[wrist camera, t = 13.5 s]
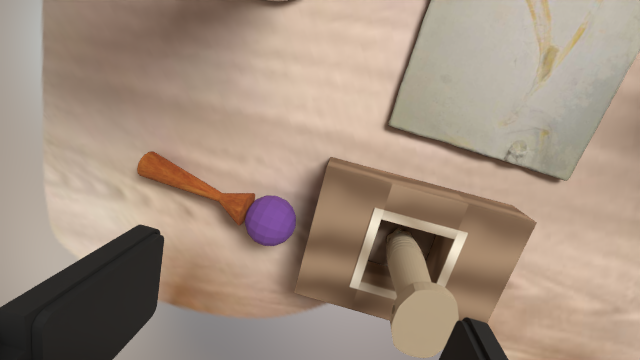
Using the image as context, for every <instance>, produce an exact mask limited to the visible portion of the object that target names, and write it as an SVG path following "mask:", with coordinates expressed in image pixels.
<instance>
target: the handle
mask: <svg viewBox="0 0 640 360" xmlns="http://www.w3.org/2000/svg"><path fill="white" fill-rule="evenodd" d="M387 262H388V268H389V271H390V275H391V278H392V281H393V284H394V288H395V291H396V295H397V298H396V299H395V301H394V303H393V305H392V309H391V314H390V323H391V332H392V337H393V343H394V346H395V347H396V348H397V349H398V350H399V351H401V352H403V353H405V354H407V355H410V356H414V357H419V358H428V357H433V356H434V355H436V354H437V353H438V352H440V351H441V350H442V349H444V347H445V345H446V343H447V341H448V339H449V337H450V334H451V332H452V330H453V328H454V326H455V324H456V322H457V321H458V320H459V316H458V307H457V302H456V300H455V298H454V296H453V295H452V293H451V292H450V291H449V290H447V289H446V288H445V287H443V286H441V285H439V284H436V283H432V282H431V279H430V276H429V273H428V269H427V266H426V262H425V259H424V256H423V254H422V252H421V249H420V248H419V246H418V244H417V243H416V241H415V240H414V239H413V238H412V235H411V233H410V232H408V231H402V230H400V229H395V231H394V232H393V233H392V234H389V235H388V236H387Z"/></svg>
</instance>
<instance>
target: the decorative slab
mask: <svg viewBox="0 0 640 360" xmlns="http://www.w3.org/2000/svg"><path fill="white" fill-rule="evenodd" d="M639 51H640V0H431V2H430V4H429V7H428V9H427V12H426V14H425V17H424V19H423V22H422V25H421V28H420V31H419V34H418V37H417V41H416V44H415V47H414V49H413V52H412V54H411V58H410V62H409V65H408V68H407V70H406V71H405V75H404V78H403V81H402V83H401V86H400V89H399V92H398V95H397V98H396V102H395V106H394V109H393V112H392V116H391V119H390V121H389V123H388V124H389V126H391V127H394V128H397V129H400V130H403V131H406V132H409V133H412V134H415V135H419V136H422V137H426V138H431V139H435V140H439V141H442V142H445V143H448V144H451V145H453V146H456V147H459V148H463V149H466V150H469V151H473V152H476V153H478V154H482V155H485V156H488V157H491V158H497V159H499V160H502V161H506V162H509V163H512V164H515V165H519V166H522V167H525V168H528V169H530V170H532V171H536V172H540V173H544V174H547V175H550V176H552V177H556V178H559V179H561V180H565V181H567V180H568V179H569V178H570V176H571V175H572V173H573V171H574V169H575V167H576V165H577V163H578V161H579V159H580V158H581V156H582V154H583V152H584V150H585V149H586V147H587V145H588V143H589V141H590V140H591V138H592V136H593V134H594V133H595V131H596V129H597V127H598V125H599V123H600V121H601V120H602V118H603V115H604V113H605V111H606V110H607V108H608V107H609V105H610V103H611V101H612V99H613V97H614V96H615V94H616V92H617V90H618V89H619V87H620V85H621V83H622V81H623V79H624V77H625V75H626V73H627V71H628V70H629V68H630V66H631V65H632V63H633V61H634V60H635V58H636V56H637V54H638V52H639Z"/></svg>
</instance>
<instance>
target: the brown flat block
mask: <svg viewBox="0 0 640 360" xmlns="http://www.w3.org/2000/svg"><path fill="white" fill-rule="evenodd" d="M381 219H382V220H386V221H390V222H393V223H397V224H401V225H404V226H408V227H412V228H415V229H419V230H423V231H426V232H430V233H433V234H436V237H435V239H434V242H433V244H432V247H431V249H430V252H429V254H428V257H427V259H426V266H427V269H428V273H429V276H430V279H431V282H432V283H436V284H439V285H441V286H443V287H445V288H446V289H447V290H449V291H450V292H451V293H452V295H453V296H454V298H455V300H456V302H457V307H458V316H459V320H461V321H462V320H463V319H464V318H465V317H468V318H472V319H475V320H479V321H482V322H485V323H487V322H488V320H489V318H490V316H491V314H492V312H493V310H494V308H495V306H496V304H497V302H498V300H499V298H500V296H501V294H502V292H503V290H504V288H505V286H506V284H507V282H508V280H509V278H510V276H511V274H512V272H513V270H514V268H515V266H516V264H517V262H518V260H519V258H520V256H521V254H522V252H523V249H524V247H525V245H526V243H527V241H528V239H529V237H530V235H531V233H532V231H533V229H534V227H535V225H536V223H537V222H535V221H534V220H532V219H531V218H529V217H528V216H527V215H525V214H524V213H522V212H521V211H520V210H518V209H517V208H515V207H514V206H512V205H508V204H505V203H501V202H497V201H493V200H490V199H486V198H482V197H478V196H475V195H471V194H467V193H463V192H460V191H456V190H452V189H449V188H445V187H441V186H437V185H434V184H430V183H426V182H422V181H419V180H415V179H411V178H407V177H404V176H400V175H396V174H393V173H389V172H385V171H381V170H378V169H374V168H370V167H366V166H363V165H359V164H355V163H351V162H348V161H344V160H340V159H336V158H333V157H331V158H330V160H329V163H328V165H327V168H326V172H325V176H324V180H323V184H322V188H321V191H320V195H319V199H318V203H317V207H316V210H315V214H314V218H313V222H312V226H311V230H310V233H309V237H308V241H307V245H306V249H305V252H304V256H303V260H302V264H301V268H300V272H299V275H298V279H297V283H296V287H295V291H294V293H296V294H299V295H303V296H306V297H310V298H313V299H317V300H320V301H324V302H327V303H331V304H334V305H338V306H342V307H345V308H348V309H352V310H355V311H359V312H362V313H366V314H369V315H373V316H376V317H380V318H383V319H386V320H390V314H391V309H392V305H393V303H394V301H395V299H396V298H397V295H396V291H395V288H394V284H393V281H392V278H391V275H390V271H389V268H388V266H384V265H380V264H377V263H373V262H370V261H367V260H368V257H369V254H370V251H371V248H372V245H373V242H374V239H375V236H376V233H377V230H378V227H379V224H380V221H381Z"/></svg>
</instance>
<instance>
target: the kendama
mask: <svg viewBox="0 0 640 360" xmlns="http://www.w3.org/2000/svg"><path fill="white" fill-rule="evenodd" d="M137 171H138V174H139V175H140V176H143V177H146V178H149V179H152V180H155V181H158V182H161V183H164V184H167V185H170V186H173V187H176V188H179V189H182V190H185V191H188V192H191V193H195V194H198V195H201V196H204V197H207V198H210V199H213V200H216V201H219V202H220V204H221V205H222V206H223V207H224V209H225V210H226V211H227V212H228V214H229V215H230V216H231V217H232V218H233V220H234V221H235V222H236V223H237V225H241V224H242V223H243V222H244V221H245V225H246V228H247V231H248V234H249V235H250V236H251V238H252V239H253V240H254V241H255V242H257V243H259V244H262V245H264V246H275V245H278V244H280V243H283V242H285V241H286V240H287V239H288V238H289V237H290V236H291V235H292V233H293V231H294V229H295V226H296V215H295V212H294V210H293V207H292V206H291V205H290V204H289V203H288V202H287V201H286V200H284V199H282V198H280V197H278V196H264V197H261V198H259V199H257V200H255V194H254V193H221V192H220V191H218V190H216V189H215V188H213V187H211V186H210V185H208V184H206V183H205V182H203V181H201V180H200V179H198V178H197V177H195V176H193V175H192V174H190V173H188V172H187V171H185V170H183V169H182V168H180V167H178V166H177V165H175V164H173V163H172V162H170V161H168V160H167V159H165V158H163V157H162V156H160V155H158V154H157V153H155V152H148V153H147V154H145V155H144V156H143V157H142V158H141V160H140V162H139V164H138V168H137ZM254 200H255V201H254Z"/></svg>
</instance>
